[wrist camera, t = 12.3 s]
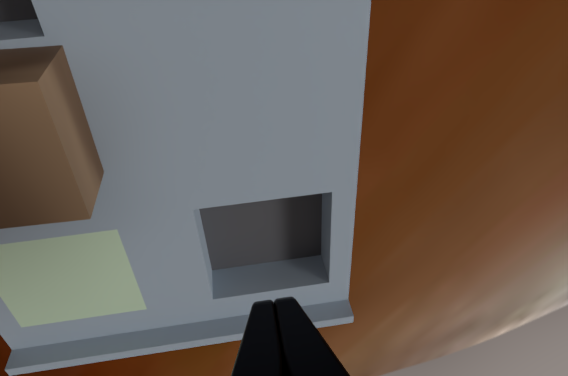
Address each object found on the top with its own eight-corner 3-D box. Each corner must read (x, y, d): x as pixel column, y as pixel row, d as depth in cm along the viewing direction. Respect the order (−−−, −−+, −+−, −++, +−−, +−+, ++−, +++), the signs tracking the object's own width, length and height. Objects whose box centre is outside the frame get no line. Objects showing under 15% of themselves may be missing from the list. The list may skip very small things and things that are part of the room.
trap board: (370, -351, 10) (419, -407, 8) (338, 275, 24) (353, 322, 22) (-404, -341, 9) (-620, -406, 7) (29, 320, 22) (9, 375, 20)
